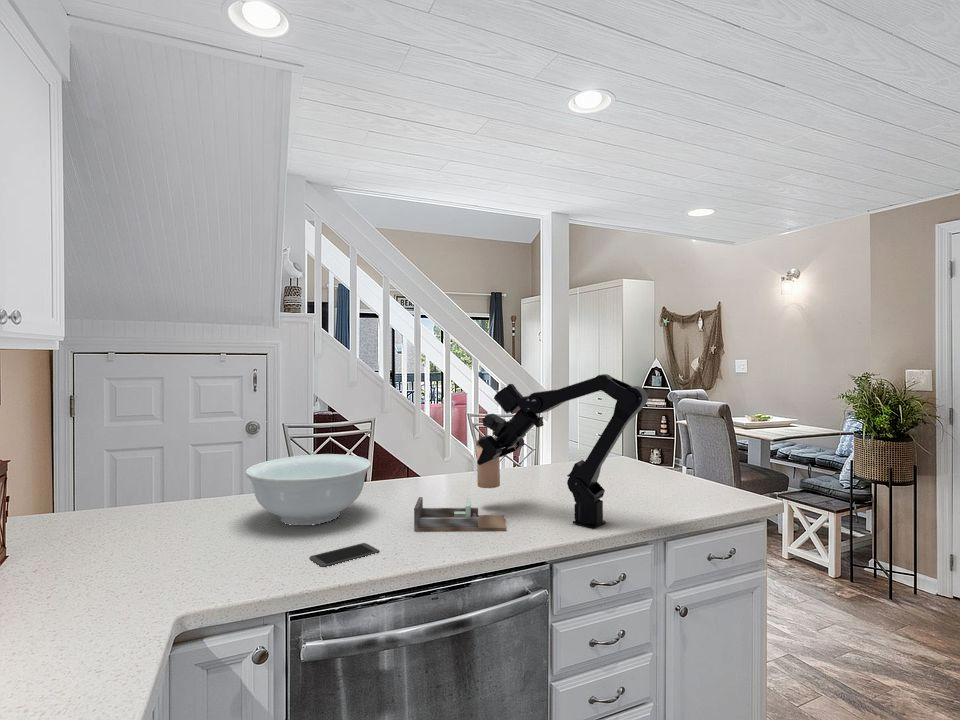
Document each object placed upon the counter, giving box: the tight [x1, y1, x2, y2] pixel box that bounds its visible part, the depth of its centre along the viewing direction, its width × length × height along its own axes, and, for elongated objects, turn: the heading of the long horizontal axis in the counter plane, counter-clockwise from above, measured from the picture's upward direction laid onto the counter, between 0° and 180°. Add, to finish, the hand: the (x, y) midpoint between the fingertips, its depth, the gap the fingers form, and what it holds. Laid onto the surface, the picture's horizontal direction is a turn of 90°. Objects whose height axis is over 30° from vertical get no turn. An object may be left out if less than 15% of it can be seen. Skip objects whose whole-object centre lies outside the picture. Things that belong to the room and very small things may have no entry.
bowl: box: [245, 453, 372, 526], centre depth 148 cm, size 32×32×15 cm
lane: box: [413, 496, 507, 532], centre depth 141 cm, size 23×11×6 cm, turn 90°
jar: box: [475, 439, 501, 489], centre depth 156 cm, size 7×7×13 cm
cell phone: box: [309, 542, 381, 568], centre depth 120 cm, size 7×14×1 cm, turn 130°
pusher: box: [454, 498, 472, 518], centre depth 141 cm, size 4×7×5 cm, turn 0°
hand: (484, 461), depth 157 cm, fingers closed on jar, 6 cm apart
